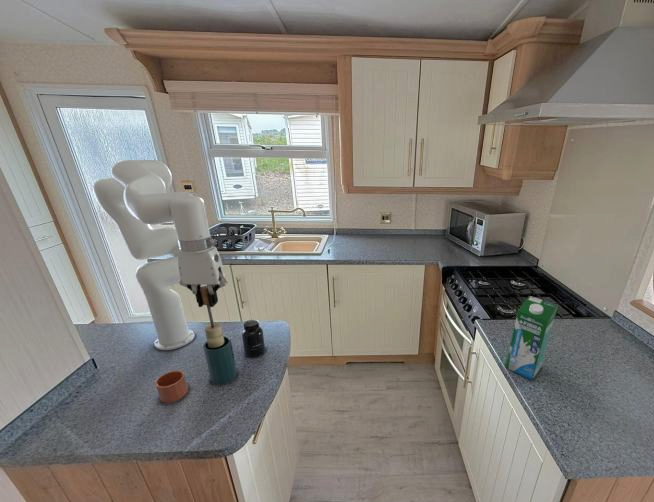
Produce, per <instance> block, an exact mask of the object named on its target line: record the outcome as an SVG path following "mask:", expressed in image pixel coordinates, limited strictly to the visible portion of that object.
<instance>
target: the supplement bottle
mask: <svg viewBox="0 0 654 502" xmlns="http://www.w3.org/2000/svg"><path fill="white" fill-rule="evenodd" d="M241 339H242V345H243V352H244V355H245V356H247V357H250V358H255V357H258V356H260V355H262V354H264V352H265V350H266V347H265V339H264V330H263V328H262V327H261V326H260V323H259V320H257V319H248V320H246V321H245V322H244V323H243V329H242V332H241Z"/></svg>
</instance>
